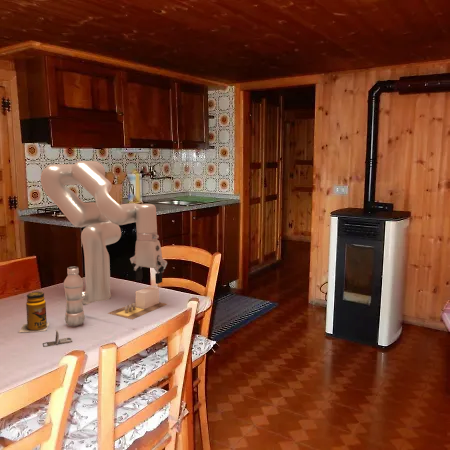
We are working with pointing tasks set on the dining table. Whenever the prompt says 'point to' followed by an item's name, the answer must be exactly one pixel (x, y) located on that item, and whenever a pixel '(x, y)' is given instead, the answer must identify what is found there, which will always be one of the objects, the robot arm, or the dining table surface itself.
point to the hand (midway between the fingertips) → (149, 281)
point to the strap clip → (61, 341)
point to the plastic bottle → (74, 297)
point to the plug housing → (147, 297)
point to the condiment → (35, 313)
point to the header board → (135, 310)
